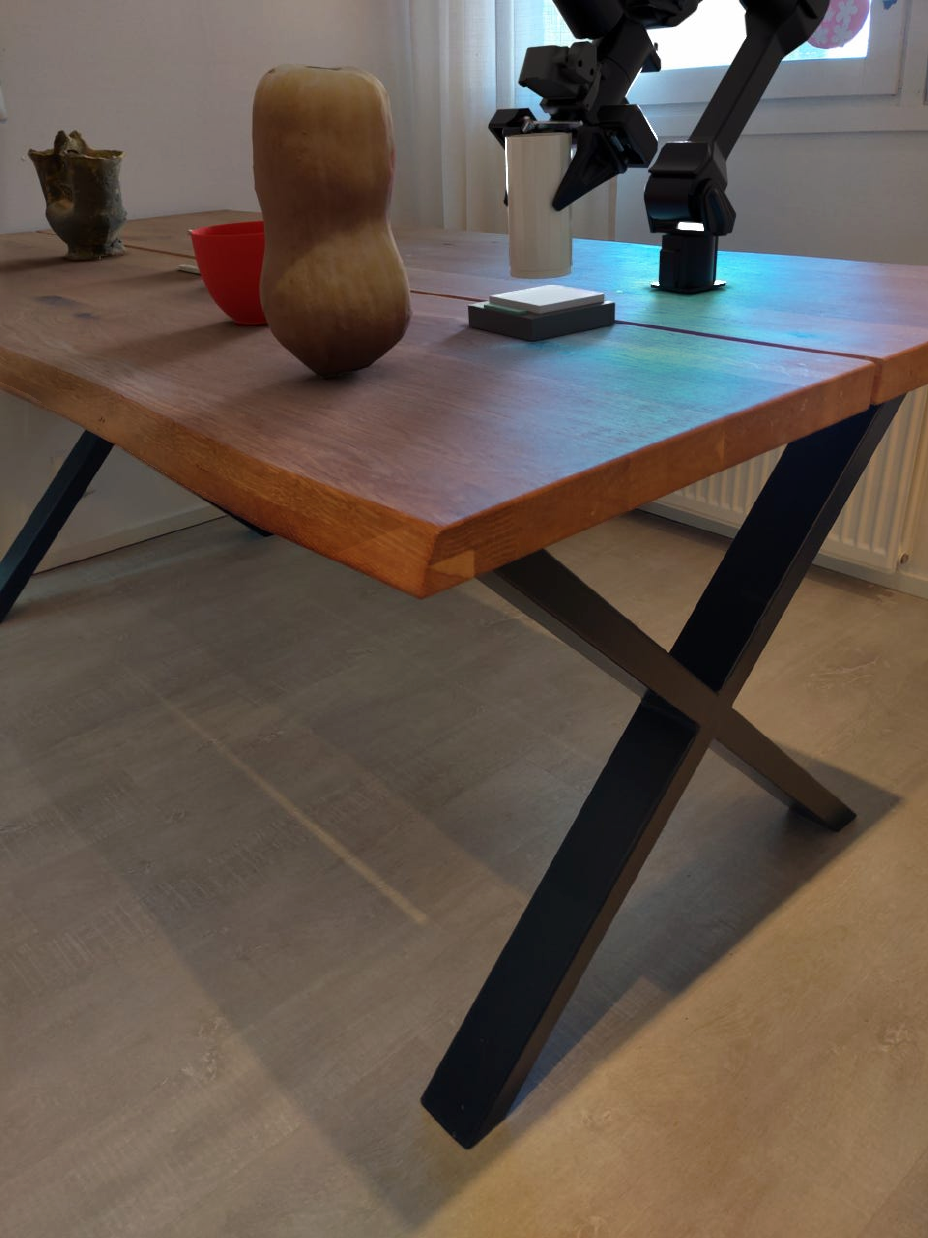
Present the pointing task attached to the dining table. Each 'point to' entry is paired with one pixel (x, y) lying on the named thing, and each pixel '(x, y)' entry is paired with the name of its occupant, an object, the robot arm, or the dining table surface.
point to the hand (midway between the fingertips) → (530, 206)
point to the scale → (542, 312)
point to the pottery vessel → (82, 195)
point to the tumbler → (538, 205)
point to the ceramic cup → (233, 267)
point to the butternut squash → (328, 216)
